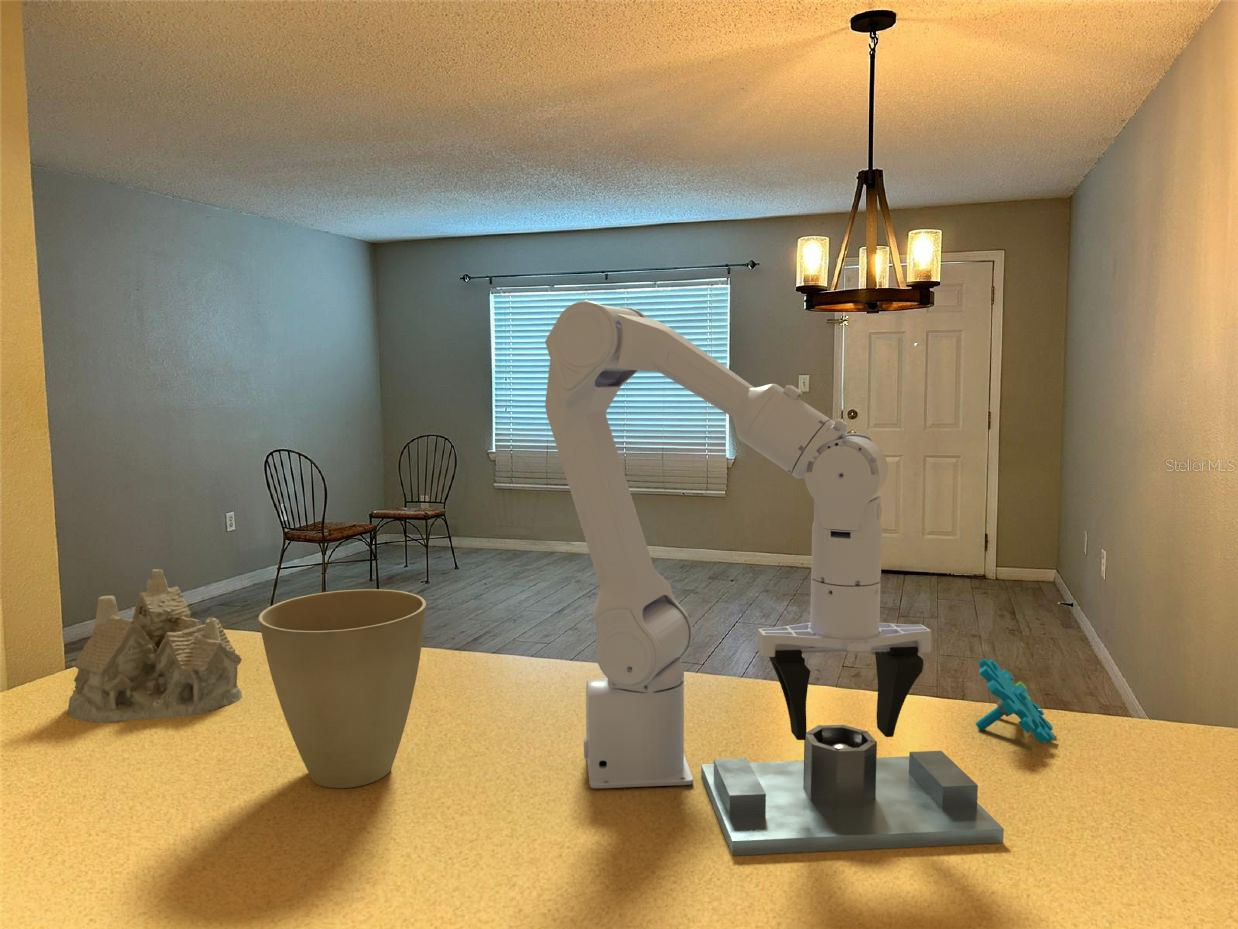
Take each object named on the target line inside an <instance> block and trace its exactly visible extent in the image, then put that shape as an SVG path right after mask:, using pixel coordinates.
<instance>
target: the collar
mask: <svg viewBox="0 0 1238 929" xmlns="http://www.w3.org/2000/svg"><path fill="white" fill-rule="evenodd" d="M803 741H804V742H803V744H804V746H803V748H804V749H803V760H804V790H805V791H806V793H807V795H808V796H809V798H810V800H811V801H814V802H817V803H820V804H823V805H826V806H828V807H831V808H834V809H850V808H864V807H865V806H866V805H867V804H869V803H870V802H871V801H873V800H874V799H875V798H876V761H877V758H878V755H877V754H878V752H877V751H878V749H877V748H878V742H877V741H876V740H875V738H874V737H873V736H872V735H871V734H870V732H868V731H867V730H864V729H860V728H856V727H854V726H849V725H846V724H827V725H826V724H825V725H823V724H822V725H816V726H814V727H813V728H811V729H810V730H808V731H806V739H805V740H803ZM836 744H846V745H848V746H850V747H851V748H835V747H832V746H833V745H836Z"/></svg>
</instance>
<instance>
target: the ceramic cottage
mask: <svg viewBox="0 0 1238 929" xmlns="http://www.w3.org/2000/svg"><path fill="white" fill-rule="evenodd" d="M167 582H168V581H167V579H166V577H165V575H164V571H163V569H161V568H160V569H159V568H157V569H155V568H154V569H151V578H149V579H147V582H146V585H145V587H146V591H143V592H142V591H141V592H139V595H138V599H137V600H136V604H135V607H134V613H133V616H132V619H129V618H122V617H120V616H119V615H120V613H119V610H118V605H117V600H116V597H115V596H114V595H104V596H99V597H98V598H97V604H96V605H97V606H96V614H95V620H94V629H93V633H92V634H91V636H90V637H89V639H88V641H87V642H86V644H84V646H83V648H82V650H81V652H80V653H79V654H78V655H77V658H76V659H75V660H74V661H73V662H72V663H71V666H72V667H73V668H76V669H77V674H76V676H75V677H74V679H73V682H74V683H75V685H74V690H72V694H71V695H70V696H69V697H68V698H69V700H68V708H67V716H69V717H71V718H73V719H74V720H79V721H83V722H87V721H88V722H91V723H98V724H102V723H103V724H104V723H110V722H112V723H115V722H119V721H120V722H127V721H129V722H133V721H141V720H142V721H144V720H151V719H153V720H156V719H160V720H161V719H170V718H171V719H172V718H174V719H176V718H177V719H178V718H186V717H187V718H188V717H195V716H199V715H204V714H207V713H212V711H215V710H218V708H221V707H225V706H226V707H228V706H229V705H232V704H236V703H238V702H239V701H240V700H241V699H242V698H243V694H242V690H241V688H239V686H238V666H239V665H241V663H242V659H243V658H241V656H240V654H238V653H237V652H236V650H235V648H234V647H233V645H232V644H231V642H230V639H229V638H228V636H227V635H226V632H225V631H224V627H223V625H222V624H221V623H220V620H219V619H217V618H216V617H208V618H206V620H205V621H204V624H202V622H201V620H199V619H195V618H191V614H192V613H191V611H190V609H189V607H188V604H187V602H186V600H185V598H184V596H183V594H182V591H181V589H180V588H179V586H174V587H168V583H167Z"/></svg>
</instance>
